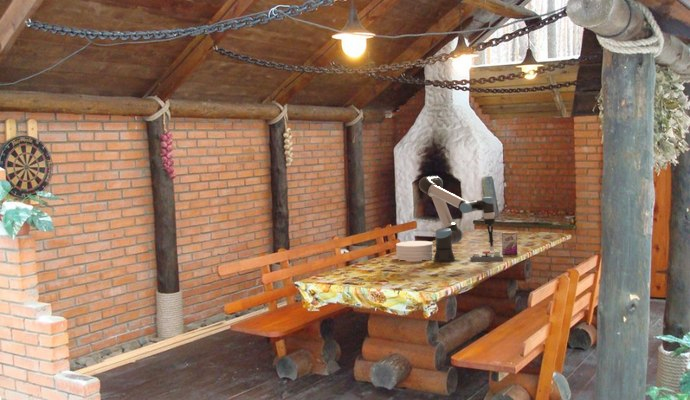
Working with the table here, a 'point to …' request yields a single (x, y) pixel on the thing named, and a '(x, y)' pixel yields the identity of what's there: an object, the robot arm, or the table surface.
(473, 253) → the cream rounded ball
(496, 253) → the pale green cube
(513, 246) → the candy bar box
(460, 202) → the robot arm
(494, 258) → the panel
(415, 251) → the plate stack
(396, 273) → the table surface
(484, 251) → the rocker
